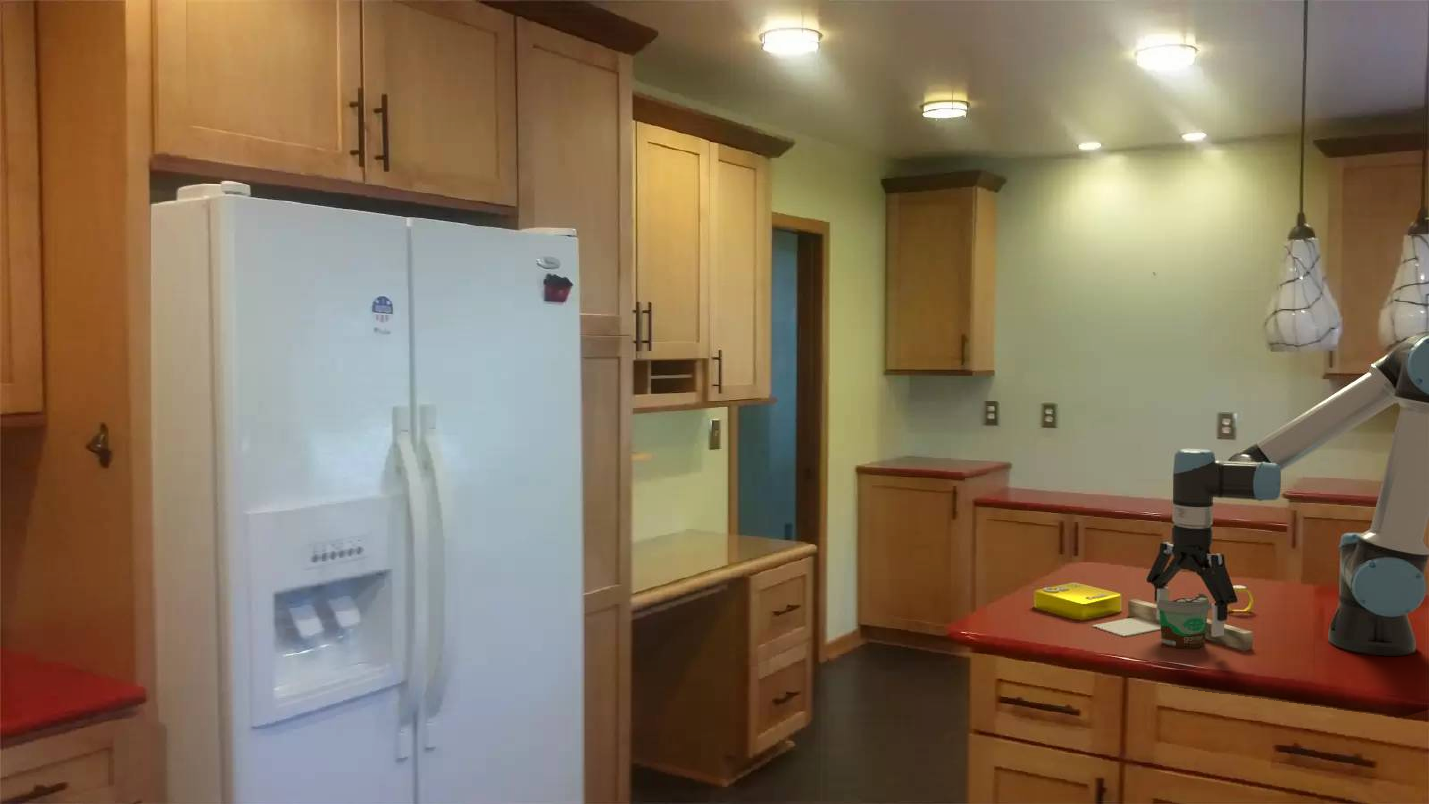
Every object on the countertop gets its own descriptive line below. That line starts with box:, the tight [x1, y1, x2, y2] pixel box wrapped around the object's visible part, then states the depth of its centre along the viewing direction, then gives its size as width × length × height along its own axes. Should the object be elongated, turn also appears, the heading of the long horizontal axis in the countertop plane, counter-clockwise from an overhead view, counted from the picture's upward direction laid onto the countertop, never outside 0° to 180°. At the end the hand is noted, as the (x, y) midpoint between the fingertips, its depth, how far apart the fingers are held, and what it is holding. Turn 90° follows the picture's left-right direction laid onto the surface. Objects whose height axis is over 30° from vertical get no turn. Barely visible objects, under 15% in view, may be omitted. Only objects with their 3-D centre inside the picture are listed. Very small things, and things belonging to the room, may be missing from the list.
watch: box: [1228, 584, 1255, 612], centre depth 244 cm, size 6×3×6 cm, turn 84°
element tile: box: [1033, 582, 1123, 621], centre depth 249 cm, size 15×15×5 cm
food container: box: [1156, 592, 1212, 651], centre depth 219 cm, size 12×6×10 cm, turn 114°
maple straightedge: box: [1127, 598, 1254, 652], centre depth 229 cm, size 30×3×4 cm, turn 26°
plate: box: [1091, 617, 1161, 638], centre depth 233 cm, size 9×13×1 cm
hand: (1189, 627), depth 219 cm, fingers open, 13 cm apart
